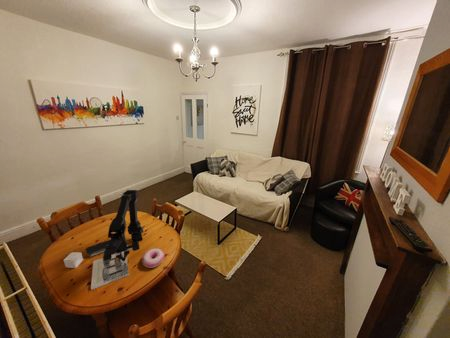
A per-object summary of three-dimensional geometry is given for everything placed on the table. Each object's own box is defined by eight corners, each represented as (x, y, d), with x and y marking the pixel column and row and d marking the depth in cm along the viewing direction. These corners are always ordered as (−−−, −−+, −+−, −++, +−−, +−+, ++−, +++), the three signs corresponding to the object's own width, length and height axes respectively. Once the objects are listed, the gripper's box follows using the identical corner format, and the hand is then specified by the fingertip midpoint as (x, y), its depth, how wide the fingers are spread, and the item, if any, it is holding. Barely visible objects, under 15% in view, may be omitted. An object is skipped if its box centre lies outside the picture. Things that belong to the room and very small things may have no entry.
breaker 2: (109, 271, 105) (108, 267, 103) (109, 277, 101) (108, 272, 100) (103, 274, 103) (102, 269, 102) (103, 279, 100) (101, 274, 99)
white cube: (65, 267, 108) (63, 260, 106) (73, 259, 114) (71, 252, 112) (75, 267, 108) (73, 260, 106) (83, 259, 114) (81, 252, 112)
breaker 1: (109, 257, 114) (108, 253, 113) (109, 262, 111) (108, 257, 110) (103, 259, 113) (102, 254, 111) (103, 264, 109) (102, 259, 108)
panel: (126, 252, 121) (126, 250, 121) (129, 275, 105) (128, 273, 105) (93, 262, 112) (93, 260, 112) (91, 289, 96) (90, 287, 96)
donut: (154, 272, 108) (154, 266, 106) (137, 265, 112) (136, 259, 110) (168, 256, 120) (168, 250, 118) (152, 250, 124) (152, 244, 122)
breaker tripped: (120, 260, 112) (119, 256, 111) (121, 265, 109) (120, 260, 108) (115, 262, 111) (114, 257, 110) (115, 267, 108) (114, 262, 107)
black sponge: (87, 259, 115) (86, 254, 114) (87, 251, 121) (85, 246, 120) (116, 248, 125) (116, 244, 123) (114, 241, 131) (113, 237, 130)
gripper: (135, 227, 117) (138, 246, 123) (101, 237, 108) (106, 257, 113) (138, 238, 109) (141, 258, 114) (101, 249, 99) (106, 270, 104)
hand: (124, 260), depth 111 cm, fingers closed
